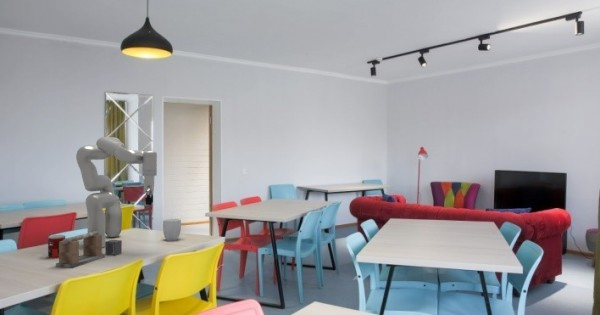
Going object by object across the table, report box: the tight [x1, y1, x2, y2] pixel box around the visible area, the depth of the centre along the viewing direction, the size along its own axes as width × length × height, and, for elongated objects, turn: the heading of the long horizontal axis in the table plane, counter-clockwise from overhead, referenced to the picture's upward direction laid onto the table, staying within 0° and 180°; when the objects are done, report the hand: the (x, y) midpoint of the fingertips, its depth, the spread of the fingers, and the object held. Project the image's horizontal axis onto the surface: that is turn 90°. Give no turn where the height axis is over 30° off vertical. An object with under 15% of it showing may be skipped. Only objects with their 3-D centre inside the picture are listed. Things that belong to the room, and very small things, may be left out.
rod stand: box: [55, 231, 106, 269], centre depth 214 cm, size 10×22×14 cm, turn 166°
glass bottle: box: [104, 194, 123, 238], centre depth 275 cm, size 10×10×28 cm
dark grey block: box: [104, 239, 123, 257], centre depth 230 cm, size 6×5×7 cm
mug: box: [162, 217, 182, 242], centre depth 270 cm, size 15×11×13 cm
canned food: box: [47, 234, 66, 259], centre depth 223 cm, size 8×8×11 cm
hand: (149, 203), depth 234 cm, fingers open, 9 cm apart
